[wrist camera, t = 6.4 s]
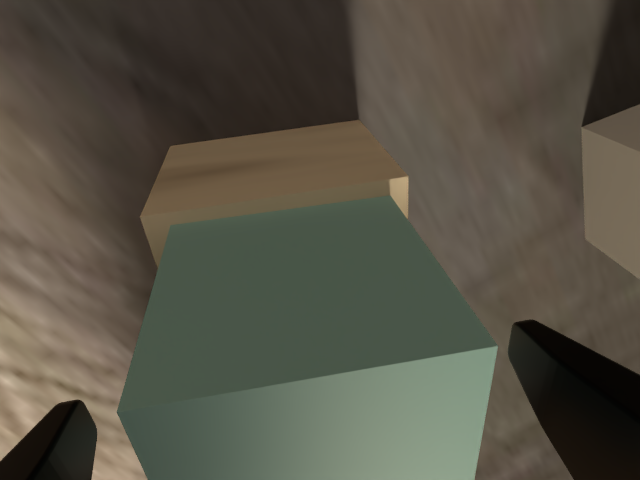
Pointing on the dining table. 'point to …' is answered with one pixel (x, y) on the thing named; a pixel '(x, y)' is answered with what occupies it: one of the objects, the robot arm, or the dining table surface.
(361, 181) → the maple block
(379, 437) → the teal block
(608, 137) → the beige block
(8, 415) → the dining table surface
